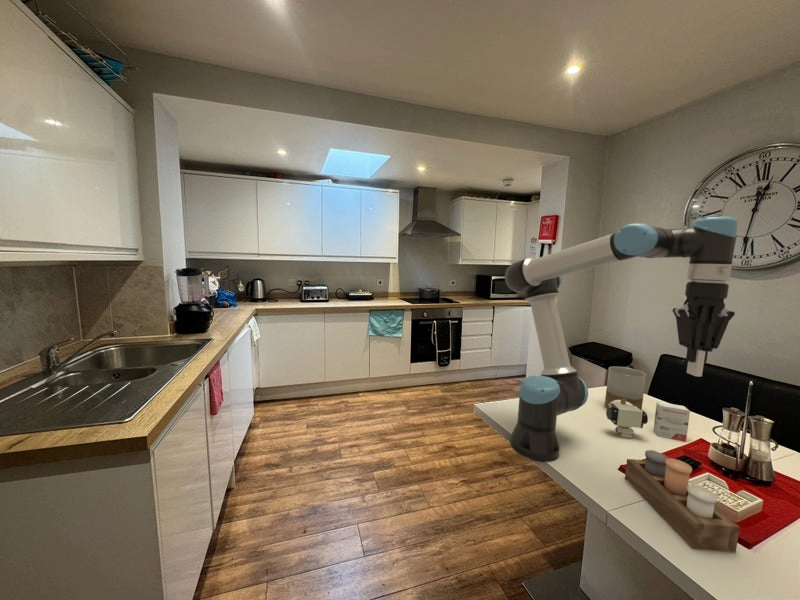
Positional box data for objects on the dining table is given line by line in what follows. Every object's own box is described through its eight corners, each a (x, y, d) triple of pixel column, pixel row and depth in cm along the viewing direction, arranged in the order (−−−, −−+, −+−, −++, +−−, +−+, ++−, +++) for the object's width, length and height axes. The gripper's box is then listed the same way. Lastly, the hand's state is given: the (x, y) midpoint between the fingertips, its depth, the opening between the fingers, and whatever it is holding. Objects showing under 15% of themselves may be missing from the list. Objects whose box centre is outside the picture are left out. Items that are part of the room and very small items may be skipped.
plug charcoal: (649, 493, 84) (653, 460, 83) (636, 480, 89) (640, 449, 88) (669, 494, 84) (673, 462, 83) (655, 482, 89) (659, 450, 88)
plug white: (694, 537, 71) (700, 499, 70) (676, 520, 76) (681, 483, 75) (717, 540, 70) (724, 501, 69) (698, 522, 75) (703, 485, 74)
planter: (605, 401, 146) (609, 364, 144) (640, 410, 138) (645, 370, 136) (603, 411, 135) (608, 371, 133) (641, 421, 128) (646, 378, 126)
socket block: (691, 548, 69) (695, 523, 68) (624, 478, 92) (627, 458, 91) (735, 552, 68) (740, 527, 68) (657, 480, 91) (659, 461, 90)
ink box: (681, 435, 117) (685, 405, 116) (686, 442, 113) (690, 410, 111) (652, 430, 121) (656, 400, 119) (656, 436, 116) (660, 405, 115)
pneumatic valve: (645, 441, 112) (649, 409, 111) (609, 436, 115) (612, 405, 113) (637, 433, 118) (641, 402, 116) (602, 429, 120) (606, 399, 119)
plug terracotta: (670, 505, 77) (676, 470, 76) (655, 491, 82) (660, 457, 81) (692, 507, 77) (697, 471, 76) (676, 493, 82) (680, 459, 81)
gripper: (692, 281, 74) (678, 378, 77) (751, 283, 73) (736, 381, 76) (667, 280, 81) (656, 368, 84) (721, 282, 81) (707, 371, 83)
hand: (694, 374), depth 80 cm, fingers closed
